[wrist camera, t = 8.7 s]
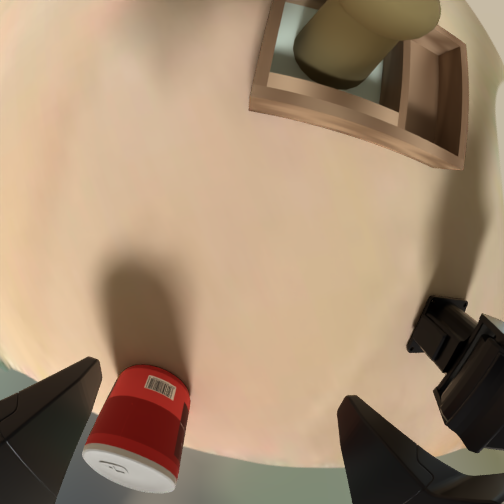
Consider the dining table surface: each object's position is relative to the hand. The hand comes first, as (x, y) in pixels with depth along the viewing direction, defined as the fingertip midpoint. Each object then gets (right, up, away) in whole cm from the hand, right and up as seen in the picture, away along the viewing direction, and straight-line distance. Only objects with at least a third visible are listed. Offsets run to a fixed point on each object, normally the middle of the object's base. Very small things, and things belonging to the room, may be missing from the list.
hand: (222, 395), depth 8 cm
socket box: (+10, +19, +8) cm, 23 cm away
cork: (+7, +19, +7) cm, 22 cm away
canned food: (-9, -9, +16) cm, 21 cm away
